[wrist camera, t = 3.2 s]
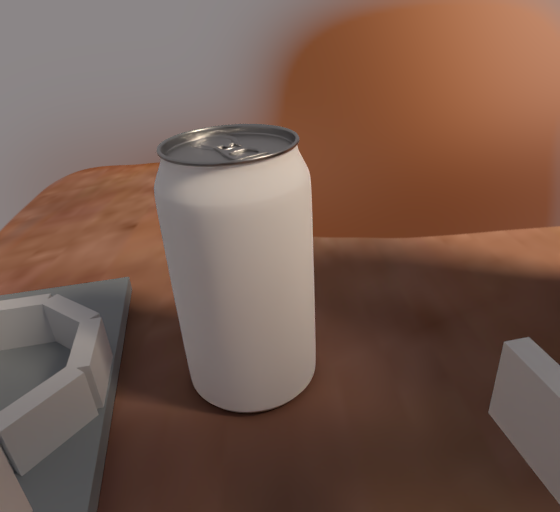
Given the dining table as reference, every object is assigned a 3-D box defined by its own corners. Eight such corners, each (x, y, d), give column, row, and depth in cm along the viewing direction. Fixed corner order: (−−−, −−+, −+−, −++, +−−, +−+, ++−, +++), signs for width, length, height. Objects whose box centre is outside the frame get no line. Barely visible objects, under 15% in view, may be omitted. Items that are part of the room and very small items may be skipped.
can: (272, 317, 28) (255, 114, 22) (342, 378, 23) (345, 139, 17) (171, 362, 25) (122, 141, 19) (229, 442, 20) (186, 180, 14)
